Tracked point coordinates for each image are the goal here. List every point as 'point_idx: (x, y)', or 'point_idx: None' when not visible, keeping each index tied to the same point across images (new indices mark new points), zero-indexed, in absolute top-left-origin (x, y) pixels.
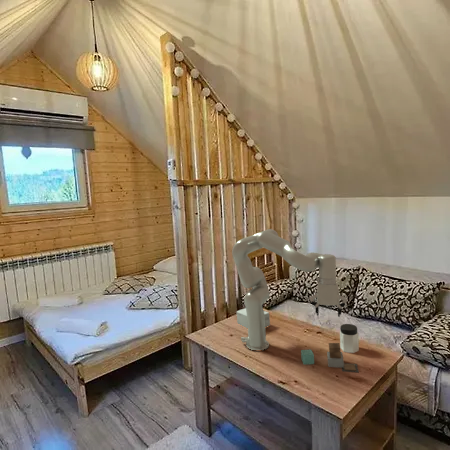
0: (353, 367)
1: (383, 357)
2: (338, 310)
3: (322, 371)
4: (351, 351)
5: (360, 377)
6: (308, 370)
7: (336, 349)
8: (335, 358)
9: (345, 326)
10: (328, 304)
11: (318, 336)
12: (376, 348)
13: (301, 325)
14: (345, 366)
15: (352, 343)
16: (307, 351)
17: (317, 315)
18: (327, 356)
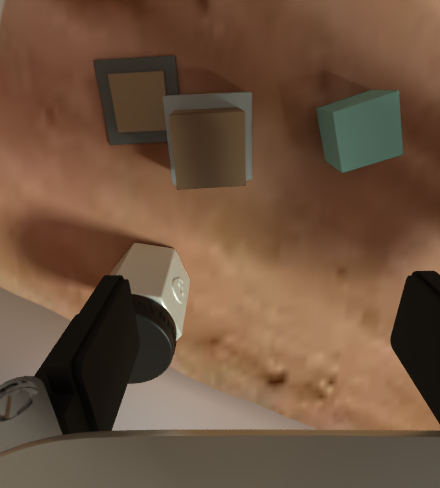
0: (121, 100)
1: (8, 230)
2: (84, 345)
3: (277, 35)
4: (139, 246)
5: (81, 10)
6: (353, 29)
7: (195, 113)
8: (206, 103)
9: (143, 354)
10: (311, 449)
11: (279, 352)
12: (47, 296)
13: (341, 418)
14: (160, 102)
15: (123, 265)
16: (366, 144)
17: (426, 271)
18: (251, 124)
